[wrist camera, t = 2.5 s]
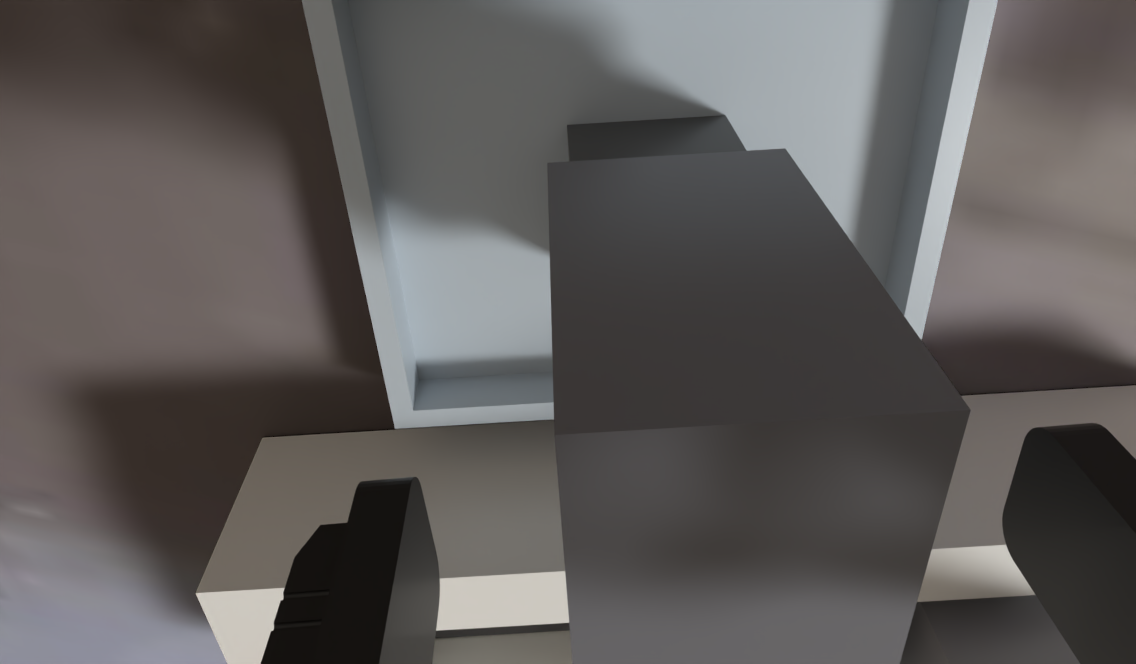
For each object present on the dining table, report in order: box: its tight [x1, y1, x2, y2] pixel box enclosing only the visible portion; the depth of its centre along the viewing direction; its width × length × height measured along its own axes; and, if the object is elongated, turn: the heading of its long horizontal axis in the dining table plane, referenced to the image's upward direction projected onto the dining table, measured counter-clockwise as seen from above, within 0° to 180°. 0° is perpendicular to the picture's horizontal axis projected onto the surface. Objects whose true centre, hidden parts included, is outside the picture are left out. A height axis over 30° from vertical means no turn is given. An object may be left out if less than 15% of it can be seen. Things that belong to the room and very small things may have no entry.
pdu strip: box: [196, 385, 1136, 664], centre depth 21 cm, size 9×24×6 cm, turn 93°
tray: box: [302, 0, 998, 429], centre depth 17 cm, size 10×12×2 cm
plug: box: [547, 115, 971, 664], centre depth 13 cm, size 4×4×10 cm
